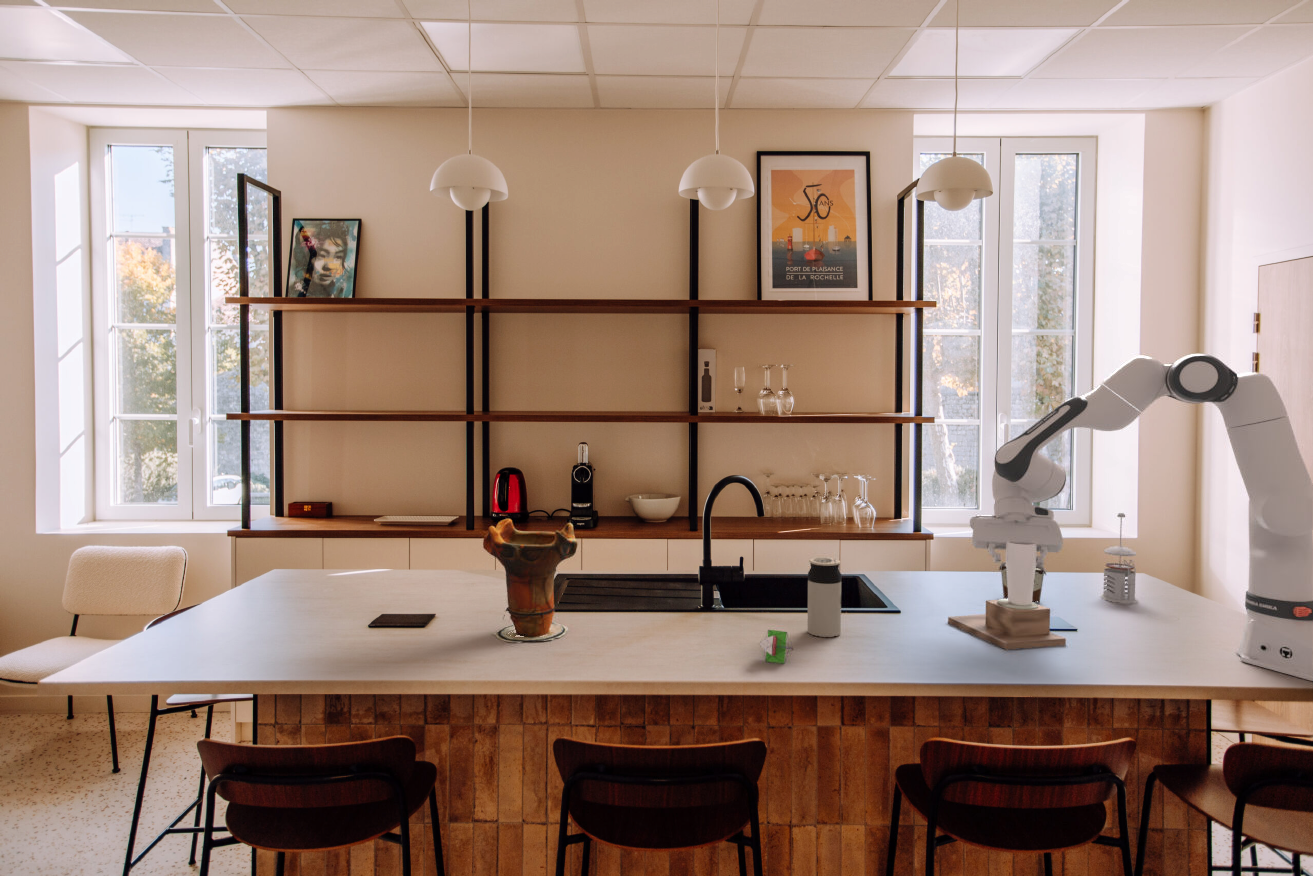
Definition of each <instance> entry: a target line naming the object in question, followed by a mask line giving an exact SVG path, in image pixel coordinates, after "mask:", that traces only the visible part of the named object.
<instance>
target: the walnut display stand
mask: <svg viewBox="0 0 1313 876" xmlns="http://www.w3.org/2000/svg"><path fill="white" fill-rule="evenodd" d="M947 621H948V622H947V623H948V624H950V625H952V626H954V627H956V628H959V629H961V630H962V631H964V632H966V633H967V632H968V633H970V634H972V635H973V636H976V637H977V638H980V639H982V640H984V641H987V642H988V643H990V644H993V645H995V646H997V647H999V648H1001V647H1002V648H1001V649H1003V648H1004V649H1003V650H1005V649H1006V650H1005V651H1008V650H1007V649H1011V650H1018V649H1017V648H1023V649H1031V648H1032V647H1034V648H1041V647H1042V648H1045V646H1046V647H1055V646H1056V645H1058V646H1066V645H1067V644H1066V642H1067V639H1066V638H1065V637H1063V636H1061V635H1058V634H1055V633H1053V632H1050V627H1051V623H1050V622H1051V608H1049V607H1046V606H1045V605H1044V606H1043V605H1041V604H1037V602H1032V604H1031V605H1027V606H1021V605H1015V604H1011V603H1010V602H1009V601H1008V599H1006V598H1000V599H989V600H985V614H972V615H957V616H947Z"/></svg>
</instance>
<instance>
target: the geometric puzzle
mask: <svg viewBox="0 0 1313 876" xmlns="http://www.w3.org/2000/svg"><path fill="white" fill-rule="evenodd" d="M766 634H767V635H765V637H764V638H762V639H761V641H760V642H759V643H758V645H759V647H760V648H761V650H763V654H762V655H763V657H765V658H764V662H767V663H768V662H770V663H777V664H783V665H784V664H786V661H787V658H788V653H790V652H791V653H790V654H789V655H791V654H792V651H794V647H793V645H792V641H791V640H788V641H787V638H789V634H788V631H782V630H774V629H767V632H766ZM787 642H788V643H787ZM789 642H790V643H789ZM788 644H791V646H790V645H789V646H787V645H788ZM787 649H788V651H787V652H786V650H787ZM765 652H766V653H765Z"/></svg>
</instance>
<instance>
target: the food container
mask: <svg viewBox="0 0 1313 876" xmlns="http://www.w3.org/2000/svg"><path fill="white" fill-rule="evenodd" d="M998 571H1000V572H1001V574H1000V575H1001V582H1002V583H1001V585H1002V594H1003V599H1006V598H1008V585H1007V571H1006V561H1004V562H1001V563H1000V564H999V568H998ZM1044 576H1047V571H1046V568H1045V567H1044V565H1043V566H1040V565H1036V569H1035V577H1034V586H1033V596H1032V601H1038V602H1041V596H1042V591H1043V590H1042V589H1043V582H1044Z"/></svg>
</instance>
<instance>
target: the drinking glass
mask: <svg viewBox="0 0 1313 876" xmlns="http://www.w3.org/2000/svg"><path fill="white" fill-rule="evenodd" d="M1037 553H1038V551H1037V544H1036V543H1035V542H1032V544H1030V545H1025V544H1014V543H1010V542H1009V540H1008V541H1006V550H1005V562H1006V571H1007V585H1008V601H1009V602H1010V603H1011V604H1015V605H1021V606H1027V605H1031V604H1032V596H1033V586H1034V577H1035V569H1036V563H1037V562H1036V560H1037V556H1038V554H1037Z"/></svg>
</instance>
